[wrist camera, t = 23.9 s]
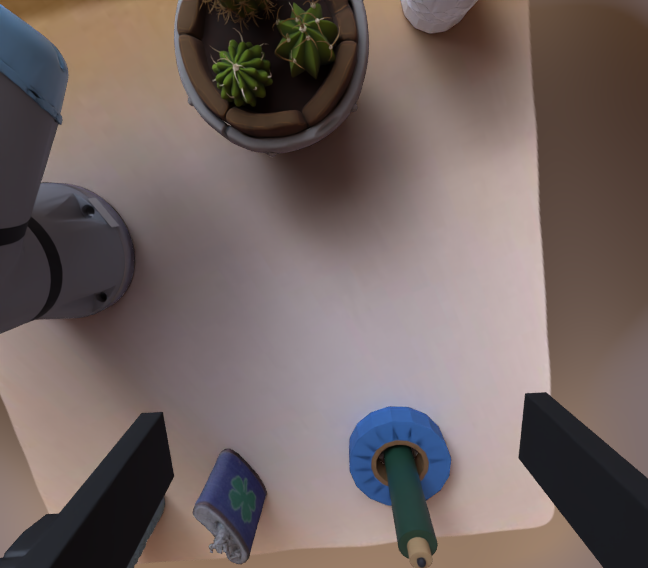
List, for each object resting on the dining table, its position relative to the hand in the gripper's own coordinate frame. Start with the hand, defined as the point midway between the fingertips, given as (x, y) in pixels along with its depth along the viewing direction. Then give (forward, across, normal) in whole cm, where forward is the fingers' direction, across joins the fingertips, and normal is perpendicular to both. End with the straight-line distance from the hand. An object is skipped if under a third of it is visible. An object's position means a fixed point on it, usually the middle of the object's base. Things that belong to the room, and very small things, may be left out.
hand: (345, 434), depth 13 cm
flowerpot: (+28, -3, +19) cm, 35 cm away
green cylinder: (+27, +8, -23) cm, 37 cm away
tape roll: (+27, +8, -23) cm, 37 cm away
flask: (+29, -12, -27) cm, 41 cm away
